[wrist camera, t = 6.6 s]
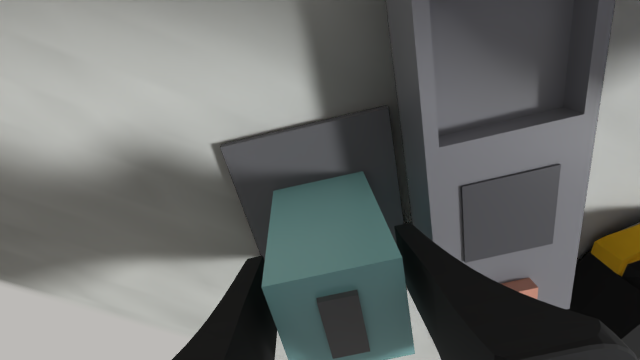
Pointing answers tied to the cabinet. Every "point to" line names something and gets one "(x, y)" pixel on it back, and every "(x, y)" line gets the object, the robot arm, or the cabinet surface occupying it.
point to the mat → (315, 164)
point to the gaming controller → (612, 285)
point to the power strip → (501, 130)
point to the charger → (335, 274)
